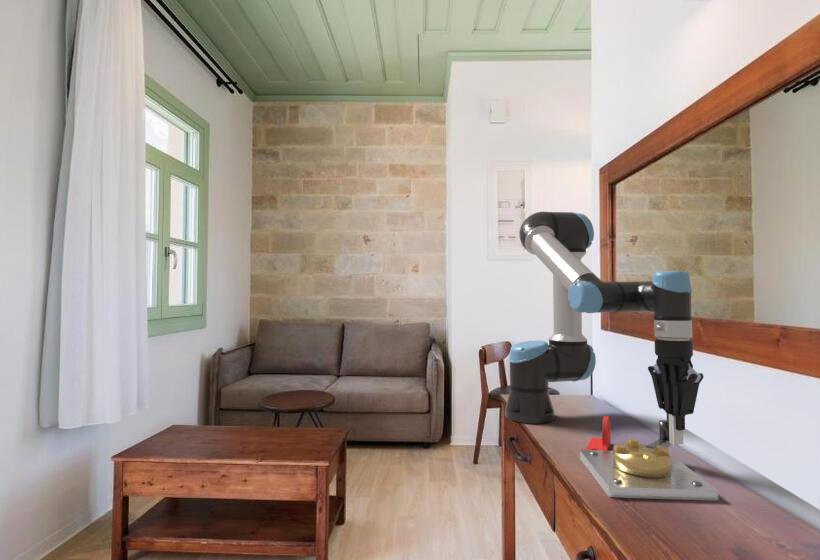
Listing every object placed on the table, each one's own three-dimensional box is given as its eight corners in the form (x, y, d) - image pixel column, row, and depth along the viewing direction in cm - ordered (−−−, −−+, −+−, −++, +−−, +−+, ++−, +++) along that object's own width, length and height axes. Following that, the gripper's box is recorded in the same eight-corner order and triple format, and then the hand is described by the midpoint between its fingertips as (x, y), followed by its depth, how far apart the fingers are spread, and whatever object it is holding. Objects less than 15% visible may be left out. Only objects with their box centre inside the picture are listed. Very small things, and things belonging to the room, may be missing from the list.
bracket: (591, 441, 120) (591, 411, 120) (610, 444, 118) (610, 413, 118) (584, 456, 109) (584, 423, 110) (604, 459, 107) (604, 426, 107)
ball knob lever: (657, 482, 89) (657, 446, 89) (603, 465, 98) (603, 432, 98) (694, 457, 102) (693, 426, 102) (643, 444, 110) (642, 415, 110)
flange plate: (579, 458, 108) (579, 448, 108) (667, 460, 106) (667, 450, 106) (609, 497, 88) (609, 485, 88) (718, 500, 86) (717, 488, 86)
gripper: (638, 337, 108) (641, 437, 107) (684, 342, 96) (688, 454, 95) (662, 336, 110) (665, 433, 109) (711, 340, 98) (715, 450, 97)
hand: (676, 443), depth 102 cm, fingers closed
